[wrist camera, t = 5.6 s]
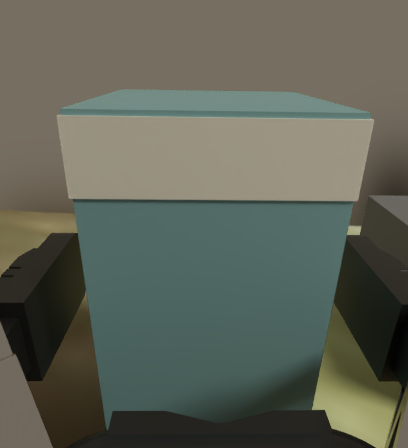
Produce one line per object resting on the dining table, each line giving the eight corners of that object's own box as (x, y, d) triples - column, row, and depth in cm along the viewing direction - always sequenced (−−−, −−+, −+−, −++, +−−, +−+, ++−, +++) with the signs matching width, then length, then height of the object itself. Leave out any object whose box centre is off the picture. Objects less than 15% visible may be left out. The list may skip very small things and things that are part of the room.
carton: (115, 512, 10) (55, 109, 6) (141, 371, 15) (120, 89, 10) (294, 510, 10) (375, 113, 6) (263, 371, 15) (295, 92, 10)
